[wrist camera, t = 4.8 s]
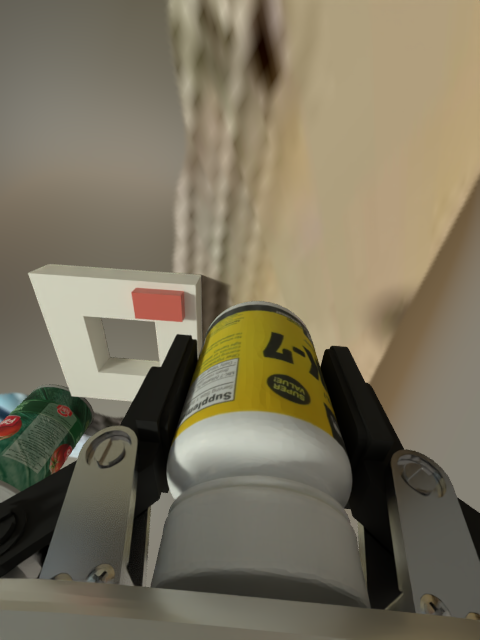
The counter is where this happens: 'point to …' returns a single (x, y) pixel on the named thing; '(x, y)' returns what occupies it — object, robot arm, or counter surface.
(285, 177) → the counter surface
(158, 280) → the socket plate
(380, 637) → the robot arm
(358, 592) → the supplement bottle
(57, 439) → the canned tomato
